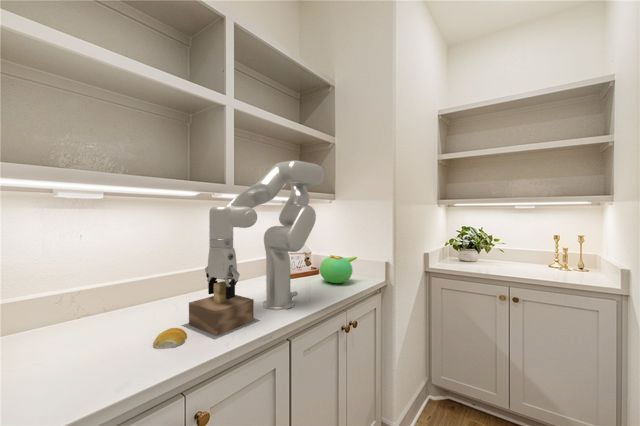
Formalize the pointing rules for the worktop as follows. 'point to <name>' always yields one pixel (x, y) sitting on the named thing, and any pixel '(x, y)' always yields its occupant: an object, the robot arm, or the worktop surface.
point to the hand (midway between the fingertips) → (221, 295)
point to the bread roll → (170, 338)
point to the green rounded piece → (336, 269)
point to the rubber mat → (220, 334)
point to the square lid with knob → (220, 311)
